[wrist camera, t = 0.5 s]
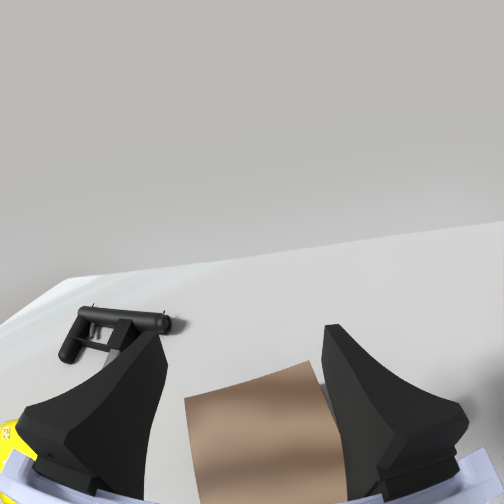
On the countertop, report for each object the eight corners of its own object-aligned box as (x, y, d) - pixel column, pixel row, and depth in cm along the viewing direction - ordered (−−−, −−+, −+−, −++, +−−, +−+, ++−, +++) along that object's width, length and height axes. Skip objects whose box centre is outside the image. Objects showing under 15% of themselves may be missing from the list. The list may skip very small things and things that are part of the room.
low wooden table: (372, 532, 14) (382, 540, 10) (242, 566, 13) (219, 578, 10) (313, 386, 28) (308, 360, 24) (207, 418, 28) (184, 398, 24)
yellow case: (87, 517, 18) (58, 511, 15) (21, 512, 16) (-3, 503, 13) (75, 421, 30) (52, 406, 27) (18, 433, 27) (-3, 420, 25)
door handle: (126, 408, 28) (168, 302, 39) (42, 372, 34) (82, 297, 45) (141, 417, 30) (178, 316, 41) (56, 382, 37) (92, 308, 48)
